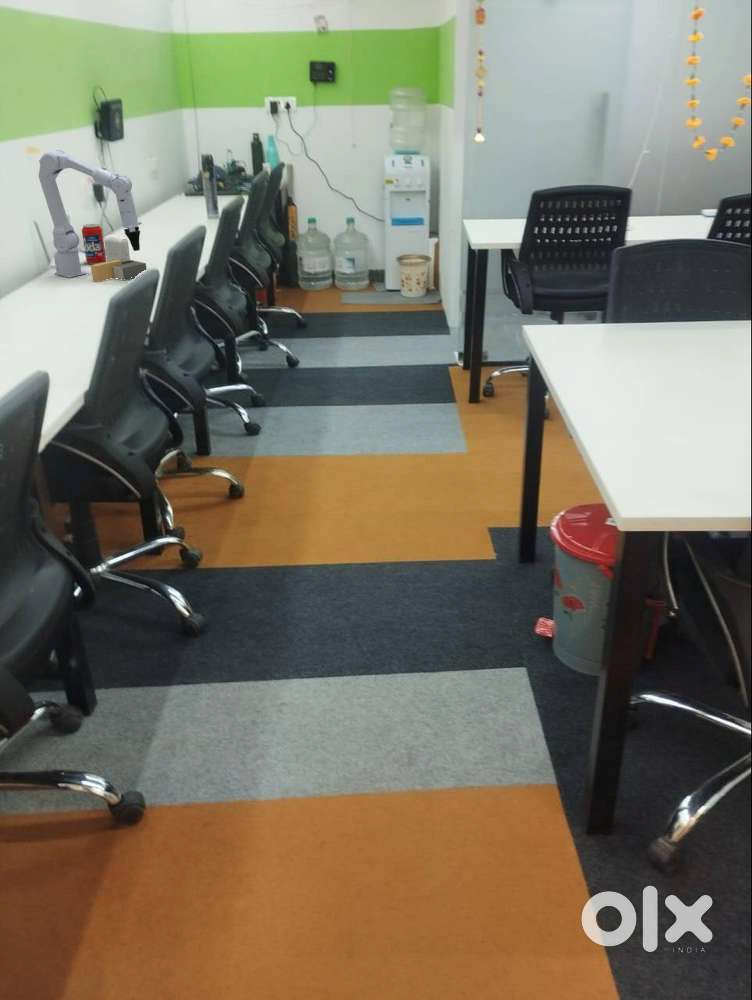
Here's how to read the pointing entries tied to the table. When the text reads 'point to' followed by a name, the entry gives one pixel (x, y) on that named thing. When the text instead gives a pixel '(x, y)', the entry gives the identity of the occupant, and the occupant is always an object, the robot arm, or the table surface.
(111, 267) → the tan rectangular block
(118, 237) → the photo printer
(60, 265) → the robot arm
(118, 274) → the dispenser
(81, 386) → the table surface
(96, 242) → the soda can
